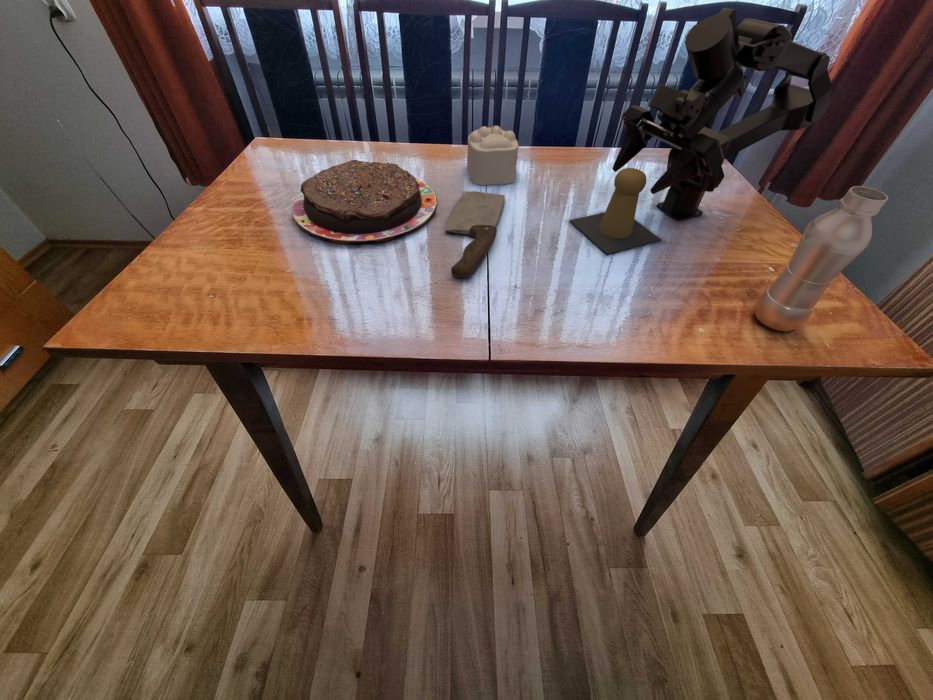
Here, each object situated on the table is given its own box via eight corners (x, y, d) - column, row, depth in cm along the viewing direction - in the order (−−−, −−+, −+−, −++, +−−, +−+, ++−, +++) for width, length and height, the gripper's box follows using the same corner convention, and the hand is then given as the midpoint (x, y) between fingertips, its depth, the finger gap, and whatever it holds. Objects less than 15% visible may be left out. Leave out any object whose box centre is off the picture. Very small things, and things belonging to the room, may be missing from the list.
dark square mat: (620, 210, 84) (620, 208, 84) (660, 241, 77) (661, 239, 76) (569, 221, 81) (569, 220, 81) (606, 255, 73) (606, 253, 73)
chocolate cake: (465, 204, 85) (465, 172, 80) (358, 266, 70) (351, 232, 65) (372, 164, 97) (368, 134, 92) (264, 211, 82) (252, 178, 77)
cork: (638, 232, 78) (659, 174, 70) (615, 241, 76) (634, 182, 68) (614, 217, 81) (632, 160, 73) (592, 226, 79) (607, 168, 71)
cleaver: (483, 283, 67) (483, 272, 66) (424, 275, 68) (423, 264, 67) (506, 198, 87) (507, 188, 86) (460, 193, 88) (460, 183, 87)
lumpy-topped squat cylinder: (472, 185, 90) (473, 144, 84) (463, 160, 99) (463, 121, 93) (519, 183, 92) (523, 141, 85) (506, 158, 100) (509, 119, 94)
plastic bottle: (796, 343, 59) (907, 214, 45) (745, 325, 62) (834, 197, 47) (799, 317, 63) (903, 190, 48) (750, 301, 65) (835, 175, 51)
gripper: (647, 48, 67) (578, 132, 71) (749, 79, 56) (659, 177, 60) (665, 96, 75) (602, 169, 80) (757, 132, 64) (677, 214, 69)
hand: (631, 180), depth 72 cm, fingers open, 9 cm apart
